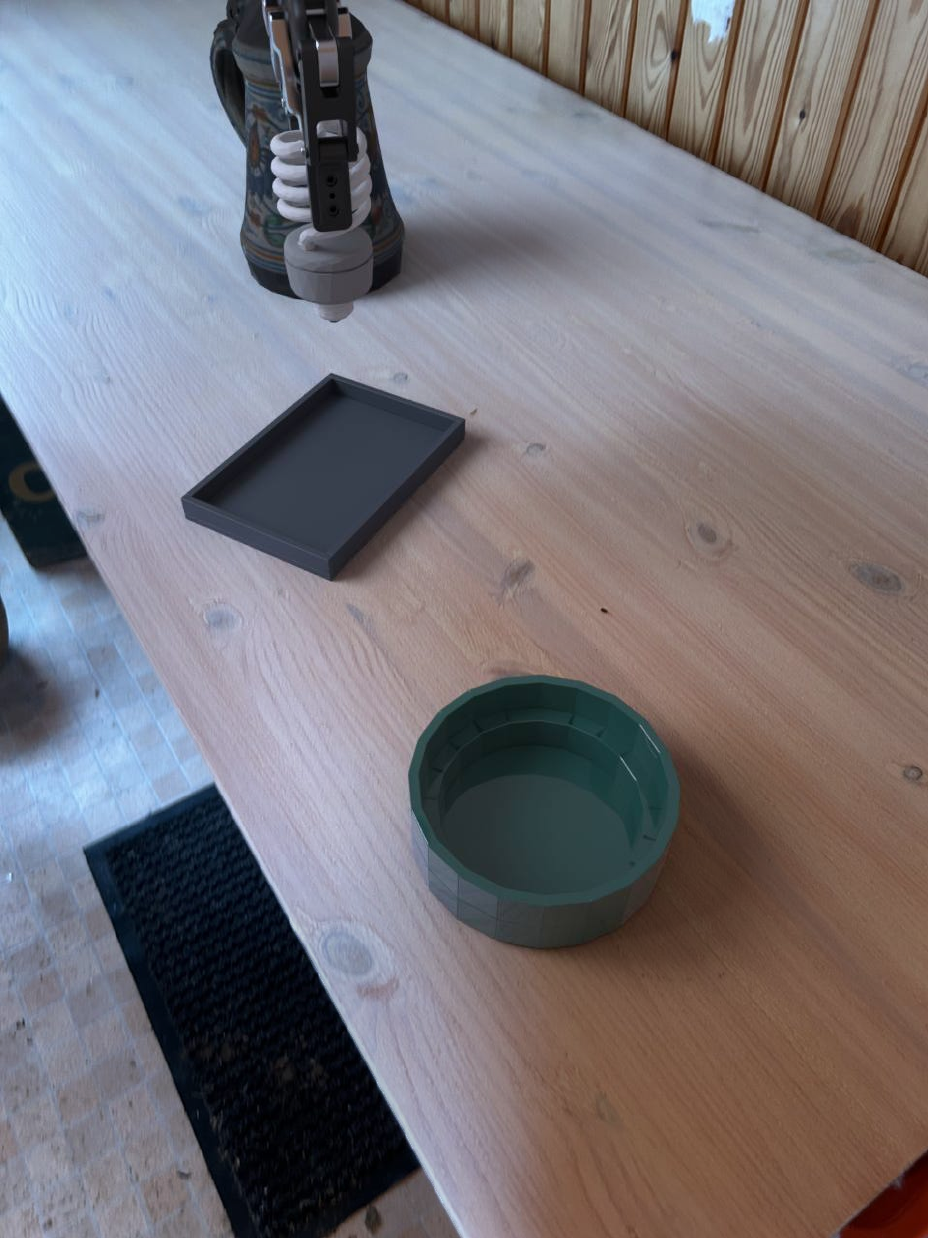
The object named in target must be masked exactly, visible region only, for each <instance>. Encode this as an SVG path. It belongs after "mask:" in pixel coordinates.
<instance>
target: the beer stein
mask: <svg viewBox="0 0 928 1238" xmlns="http://www.w3.org/2000/svg"><path fill="white" fill-rule="evenodd" d="M225 14H226V15H225V16H226V18H225V19H223V20H220V21H219V22H218V23H217V24H216V27H215V29H214V30H213V32H212V33H213V38H212V42H211V45H210V48H209V67H210V74H211V77H212V81H213V85H214V88H215V91H216V93H217V96H218V100H219V102H220V104H221V106H222V108H223V110H224V113H225V115H226V116H227V119H228V121H229V124H231V127H232V128H233V130H234V132H235V133H236V135H237V136H238V138H239V140H240V142H241V143H242V145H243V147H244V149H245V155H246V157H245V161H246V162H245V196H244V197H245V198H244V201H245V202H244V211H243V219H242V222H241V227H240V231H239V243H240V247H241V250H242V253H243V255H244V257H245V259H246V262H247V265H248V269H249V272H250V275H251V276H252V278H253V279H254V280H255V281H256V282H257V284H259V285H260V286H261V287H263V288H264V289H265V290H268V291H269V292H272V293H275V294H278V295H281V296H284V297H287V298H291V299H297V300H303V299H302V298H300V297H299V296H297V295H296V294H295V293H294V291H293V290H292V288H291V286H290V282H289V277H288V273H287V268H286V264H285V260H284V243H285V240H286V238H287V236H288V235H289V234H290V233H291V232H293V231H294V230H296V229H297V228H299V227H301V226H303V225H307V224H310V223H312V222H300V221H293V220H290V219H287V218H285V217H283V216H282V215H281V214H280V212H279V211H278V208H277V203H278V201H279V199H280V198H279V197H278V196H277V195H276V194H275V193H274V191H273V187H272V186H273V182H274V181H275V179H276V178H277V176H276V175H274V173H273V172H272V170H271V163H272V160H273V159H274V158H275V157H276V156H277V155H275V154H274V153H273V152H272V150H271V147H270V144H271V141H272V139H273V137H275V136H276V135H278V134H281V133H283V132H287V131H290V126H289V118H288V116H294V115H293V114H286V112H285V107H284V108H283V107H282V100H281V98H283V91H280V87H279V84H277V82H276V78H275V74H274V70H273V65H272V61H271V48H270V37H269V36H268V34H267V30H266V26H265V21H264V17H263V8H262V0H227V1H226V6H225ZM349 14H350V22H351V30H352V43H353V44H354V45H355V50H356V57H354V71H355V99H356V126H357V127H358V128H359V129H360V130H361V131H362V132H363V134H364V135H365V138H366V142H367V149H366V154H367V155H368V158H369V161H370V172H369V175H370V177H371V181H372V190H371V193H370V198H371V209H370V211H369V214H368V215H367V217H366V219H365V220H364V221H363V222H362V223H361V224H360V225H358V227H360V228H361V229H363V230H364V231H365V232H366V233H367V234H368V235H369V236H370V239H371V241H372V248H373V276H372V285H371V287H370V289H369V291H368V292H367V293H370V292H372V291H376V290H379V289H381V288H382V287H383V286H385V285H386V284H387V283H389V282H390V281H392V280H393V279H394V278H395V277H396V276H398V275H399V274H400V273H401V271H402V270H401V269H402V257H403V248H404V240H405V238H406V228H405V224H404V220H403V218H402V216H401V214H400V213H399V211H398V210H397V207H396V205H395V202H394V199H393V196H392V193H391V188H390V185H389V181H388V177H387V173H386V170H385V169H386V168H385V164H384V159H383V155H382V150H381V144H380V140H379V134H378V129H377V128H378V127H377V123H376V119H375V113H374V107H373V103H372V96H371V91H370V86H369V79H368V66H369V65H370V62H371V59H372V54H373V53H372V52H373V45H374V44H373V43H374V40H373V36H372V34H371V32H370V31H369V29H367V28H366V26H365V25H364V23H363V22H362V21H361V20H360V19H359V18H357V17H356V16H355V15H354V14H353V13H351V12H350V11H349ZM330 133H333V134H337V135H338V133H334V132H330ZM293 166H294V165H293ZM349 174H350V173H349ZM292 187H296V188H305V187H308V185H295V186H292ZM296 208H310V205H303V206H299V207H296ZM357 209H358V208H357ZM357 209H356V210H354V211H352V214H353V213H354V212H356V211H357Z"/></svg>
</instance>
